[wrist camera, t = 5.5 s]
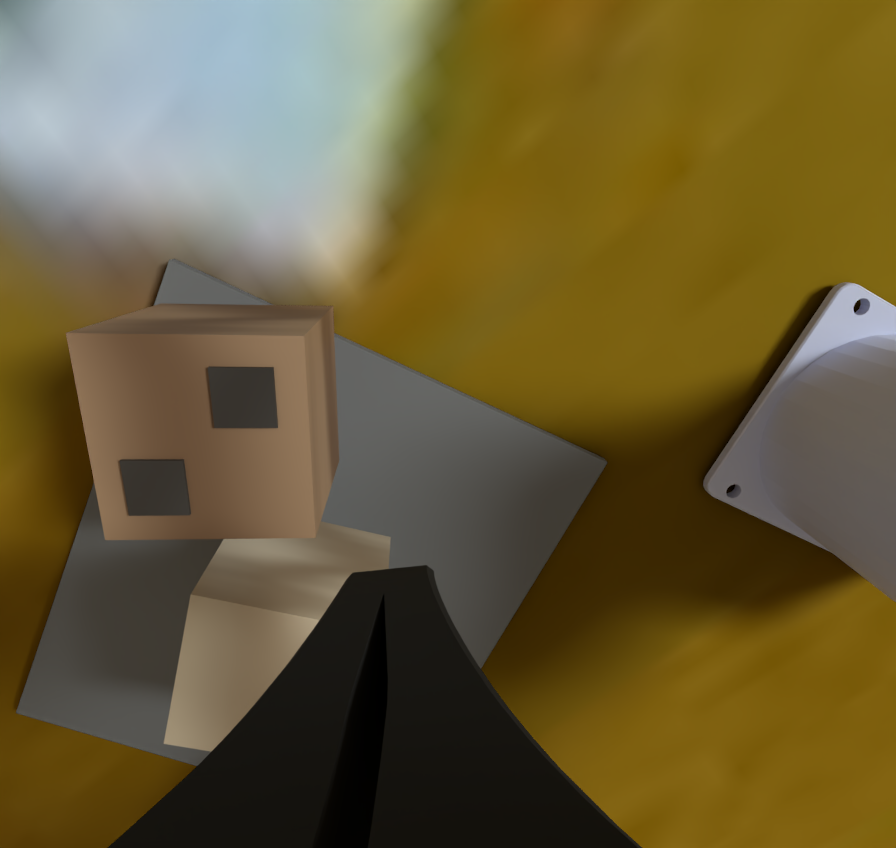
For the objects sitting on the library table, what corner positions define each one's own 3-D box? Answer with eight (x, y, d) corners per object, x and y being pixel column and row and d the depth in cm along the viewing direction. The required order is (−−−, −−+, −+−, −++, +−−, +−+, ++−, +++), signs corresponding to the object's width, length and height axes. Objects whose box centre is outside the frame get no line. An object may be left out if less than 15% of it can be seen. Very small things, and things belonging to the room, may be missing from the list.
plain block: (390, 537, 20) (384, 633, 15) (356, 652, 21) (341, 772, 17) (244, 504, 19) (190, 594, 15) (220, 626, 21) (163, 743, 16)
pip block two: (333, 306, 17) (303, 336, 13) (339, 460, 19) (314, 540, 14) (161, 303, 17) (63, 334, 12) (182, 460, 19) (103, 542, 14)
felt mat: (603, 457, 20) (607, 462, 20) (387, 812, 25) (386, 821, 24) (174, 259, 17) (169, 259, 17) (22, 704, 22) (15, 712, 21)
